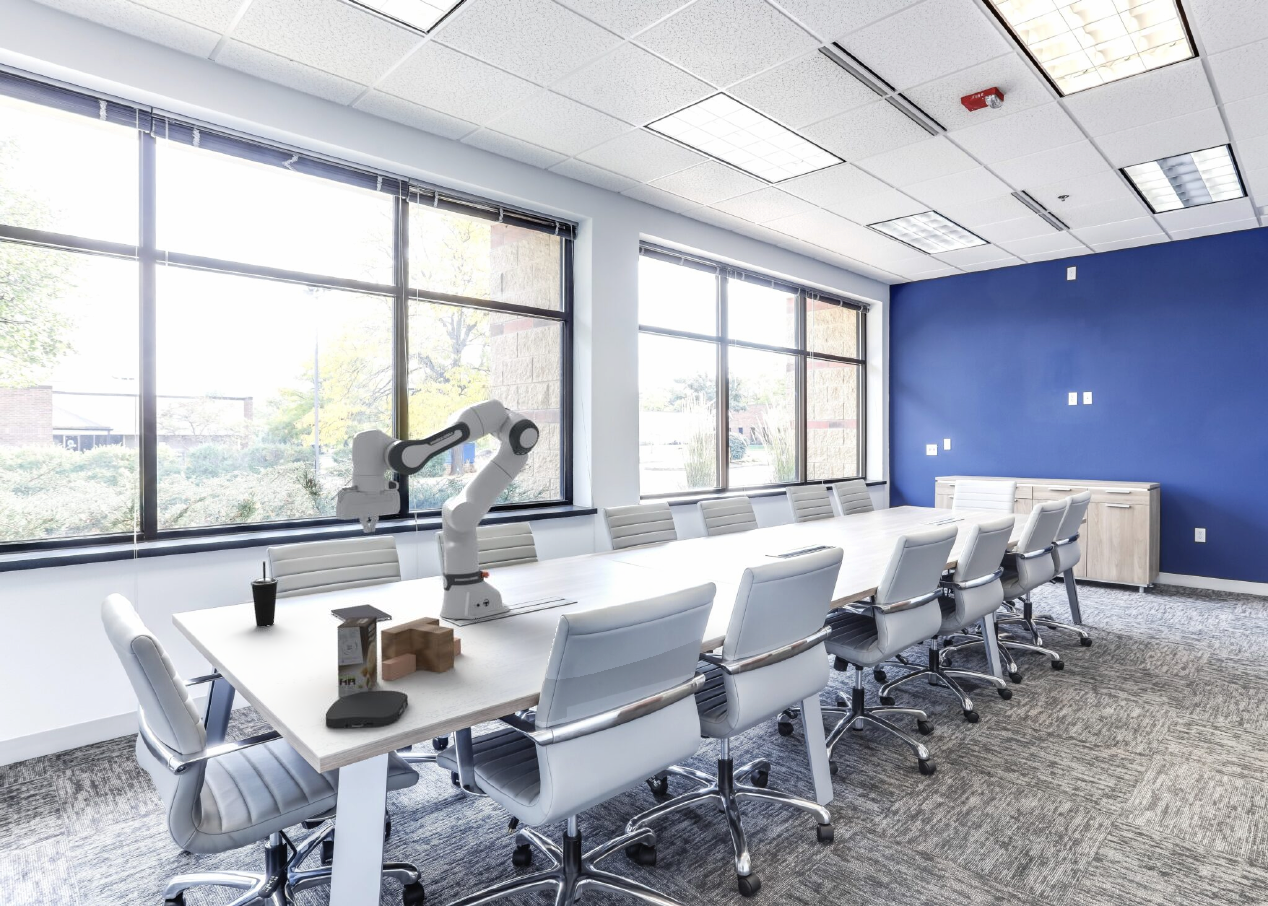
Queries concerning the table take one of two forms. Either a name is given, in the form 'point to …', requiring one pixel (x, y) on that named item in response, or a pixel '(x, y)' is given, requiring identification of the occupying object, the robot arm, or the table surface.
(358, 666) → the coffee box
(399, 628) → the t block
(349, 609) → the notebook
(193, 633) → the table surface
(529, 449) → the robot arm
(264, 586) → the drinking cup
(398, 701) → the media streaming box
